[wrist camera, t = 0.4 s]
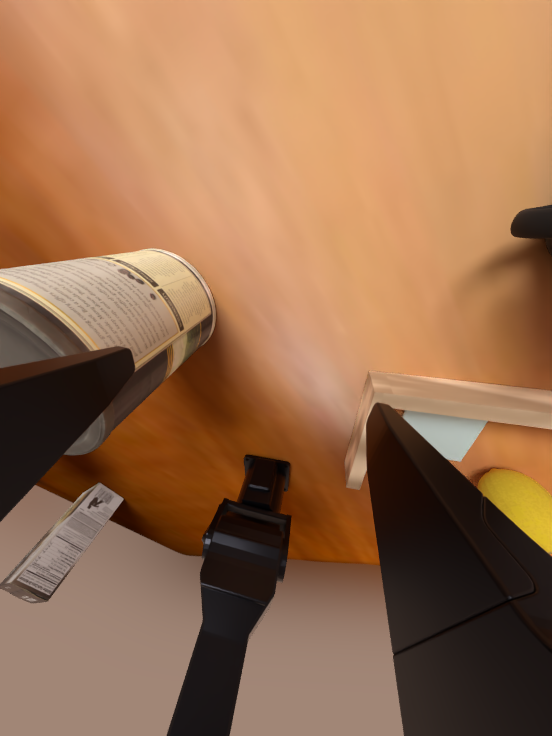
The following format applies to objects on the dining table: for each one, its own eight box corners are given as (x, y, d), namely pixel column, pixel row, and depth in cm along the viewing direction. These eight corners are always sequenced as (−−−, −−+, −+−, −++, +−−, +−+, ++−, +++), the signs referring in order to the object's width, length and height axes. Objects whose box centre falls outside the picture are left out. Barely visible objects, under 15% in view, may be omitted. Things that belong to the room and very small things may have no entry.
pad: (459, 459, 26) (460, 461, 26) (389, 448, 27) (389, 450, 27) (492, 409, 22) (494, 411, 22) (409, 398, 24) (410, 400, 23)
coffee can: (221, 356, 25) (128, 471, 14) (136, 344, 27) (-16, 439, 15) (212, 251, 20) (41, 289, 8) (105, 243, 21) (-174, 265, 9)
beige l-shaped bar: (528, 493, 27) (553, 526, 24) (344, 461, 30) (346, 487, 27) (626, 398, 20) (678, 429, 17) (368, 370, 23) (374, 391, 20)
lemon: (517, 485, 27) (580, 572, 20) (460, 483, 28) (501, 563, 22) (531, 452, 24) (609, 540, 17) (467, 452, 26) (517, 532, 19)
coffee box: (107, 507, 53) (32, 604, 39) (82, 491, 51) (-6, 587, 38) (125, 498, 49) (48, 604, 35) (99, 481, 47) (6, 585, 33)
